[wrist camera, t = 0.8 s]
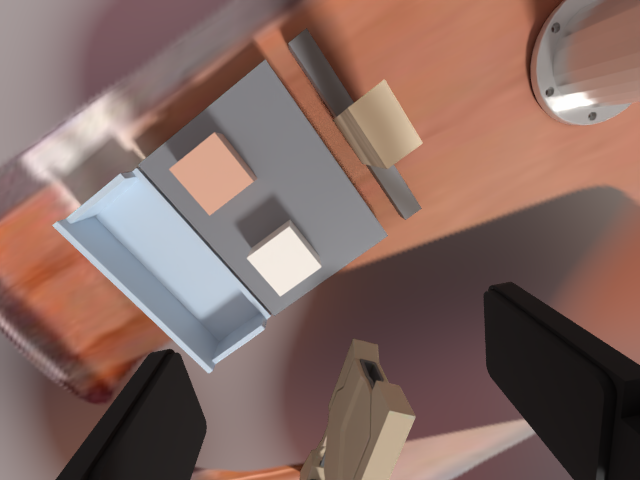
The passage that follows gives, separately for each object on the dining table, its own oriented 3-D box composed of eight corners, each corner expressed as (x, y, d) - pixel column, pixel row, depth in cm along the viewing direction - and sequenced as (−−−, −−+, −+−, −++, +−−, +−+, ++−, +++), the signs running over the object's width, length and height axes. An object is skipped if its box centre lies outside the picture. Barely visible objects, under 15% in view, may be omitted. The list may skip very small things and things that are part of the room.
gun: (316, 483, 45) (329, 633, 30) (294, 479, 44) (297, 629, 30) (373, 332, 41) (421, 418, 26) (350, 326, 40) (385, 410, 26)
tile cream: (290, 219, 31) (289, 226, 28) (319, 256, 32) (321, 267, 30) (251, 248, 32) (246, 258, 29) (281, 283, 33) (280, 296, 30)
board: (267, 66, 29) (265, 59, 27) (381, 229, 35) (388, 235, 32) (150, 163, 31) (137, 164, 29) (275, 305, 36) (274, 316, 34)
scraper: (310, 32, 29) (317, -34, 19) (418, 202, 34) (472, 225, 24) (284, 53, 29) (277, -1, 19) (396, 218, 35) (438, 248, 24)
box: (146, 166, 31) (118, 169, 26) (272, 307, 36) (268, 331, 32) (88, 214, 32) (52, 225, 27) (220, 344, 37) (208, 373, 33)
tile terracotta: (222, 134, 28) (214, 132, 26) (257, 178, 30) (253, 181, 27) (181, 167, 29) (168, 169, 26) (217, 209, 30) (209, 215, 28)
